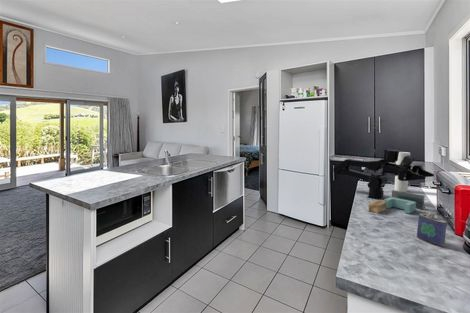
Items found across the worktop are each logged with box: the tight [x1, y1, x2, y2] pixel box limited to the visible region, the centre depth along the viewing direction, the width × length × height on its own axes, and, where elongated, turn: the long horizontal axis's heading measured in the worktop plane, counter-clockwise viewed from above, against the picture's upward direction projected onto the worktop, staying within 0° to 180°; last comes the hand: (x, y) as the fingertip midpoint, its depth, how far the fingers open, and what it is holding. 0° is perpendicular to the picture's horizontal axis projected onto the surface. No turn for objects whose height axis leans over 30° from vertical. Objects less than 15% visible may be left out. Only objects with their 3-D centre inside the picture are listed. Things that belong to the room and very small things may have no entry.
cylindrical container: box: [393, 151, 411, 193], centre depth 156 cm, size 7×7×25 cm
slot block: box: [383, 196, 417, 214], centre depth 121 cm, size 11×8×4 cm
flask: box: [416, 212, 448, 248], centre depth 87 cm, size 9×3×11 cm, turn 15°
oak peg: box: [368, 199, 387, 214], centre depth 120 cm, size 4×10×4 cm, turn 127°
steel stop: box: [391, 189, 426, 211], centre depth 127 cm, size 14×4×7 cm, turn 35°
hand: (429, 176), depth 119 cm, fingers open, 9 cm apart
